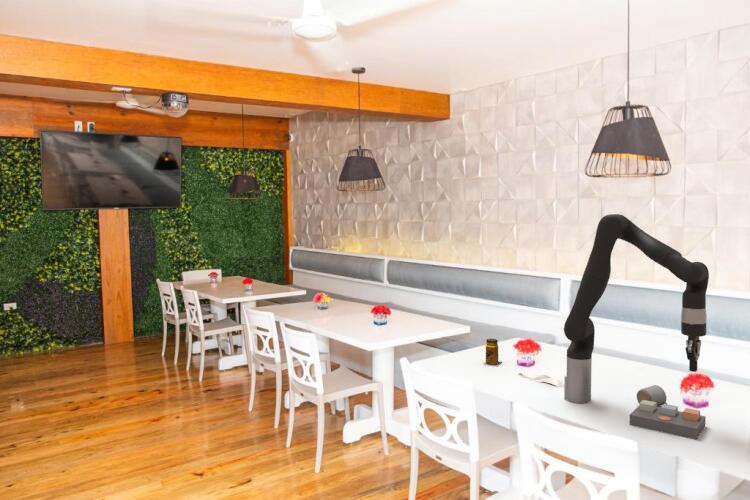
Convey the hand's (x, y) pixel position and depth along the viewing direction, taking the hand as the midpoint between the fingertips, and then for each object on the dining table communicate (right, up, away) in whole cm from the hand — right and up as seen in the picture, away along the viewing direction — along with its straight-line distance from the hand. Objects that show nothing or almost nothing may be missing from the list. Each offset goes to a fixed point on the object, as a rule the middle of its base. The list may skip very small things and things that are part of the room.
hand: (693, 371), depth 200 cm
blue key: (-6, -17, +6) cm, 19 cm away
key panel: (-7, -20, +4) cm, 21 cm away
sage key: (-11, -17, +10) cm, 22 cm away
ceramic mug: (-3, -19, +22) cm, 29 cm away
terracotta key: (0, -17, +1) cm, 17 cm away
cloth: (-34, -17, +58) cm, 69 cm away
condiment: (-51, -14, +85) cm, 101 cm away
